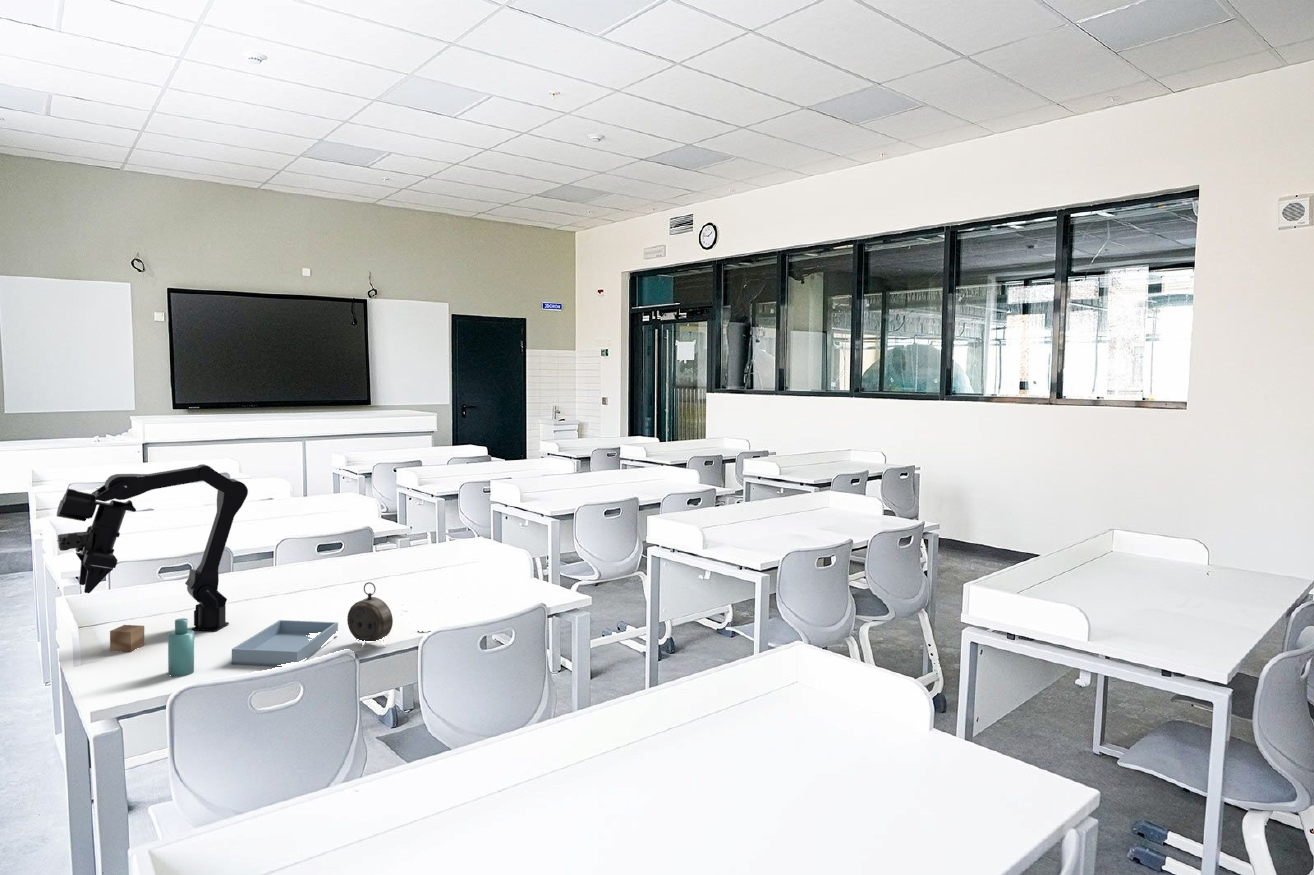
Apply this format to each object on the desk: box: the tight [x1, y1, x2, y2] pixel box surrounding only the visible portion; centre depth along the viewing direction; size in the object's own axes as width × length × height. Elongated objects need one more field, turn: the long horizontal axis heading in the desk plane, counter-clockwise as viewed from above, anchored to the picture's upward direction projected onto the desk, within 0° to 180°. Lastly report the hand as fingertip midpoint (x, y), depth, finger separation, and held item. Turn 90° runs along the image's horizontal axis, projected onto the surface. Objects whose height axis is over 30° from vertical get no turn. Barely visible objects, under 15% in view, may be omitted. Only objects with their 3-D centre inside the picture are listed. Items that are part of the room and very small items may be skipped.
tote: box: [231, 619, 339, 667], centre depth 200 cm, size 15×23×4 cm, turn 179°
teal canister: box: [167, 617, 195, 677], centre depth 182 cm, size 5×5×12 cm
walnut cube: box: [109, 624, 145, 653], centre depth 197 cm, size 5×5×5 cm
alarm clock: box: [346, 581, 394, 642], centre depth 204 cm, size 11×5×16 cm, turn 71°
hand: (84, 588), depth 196 cm, fingers open, 9 cm apart
